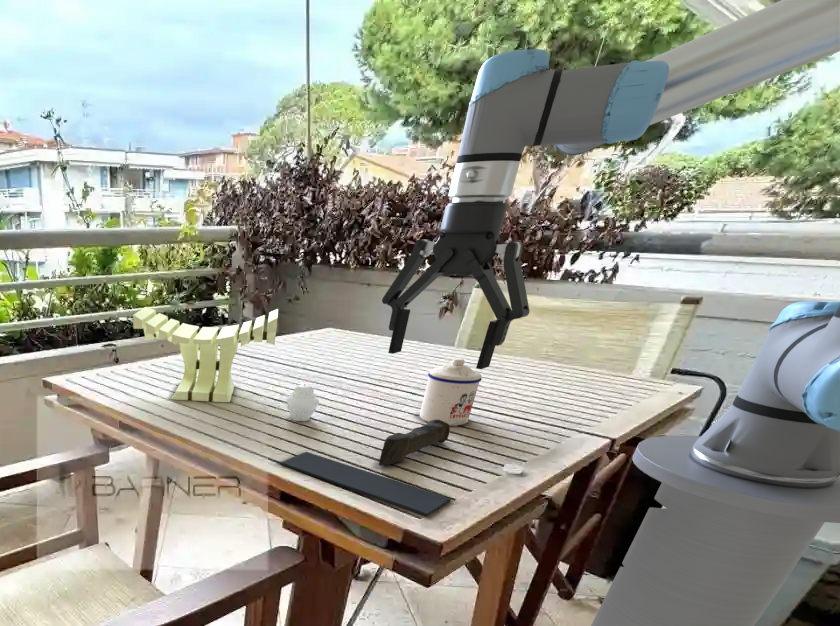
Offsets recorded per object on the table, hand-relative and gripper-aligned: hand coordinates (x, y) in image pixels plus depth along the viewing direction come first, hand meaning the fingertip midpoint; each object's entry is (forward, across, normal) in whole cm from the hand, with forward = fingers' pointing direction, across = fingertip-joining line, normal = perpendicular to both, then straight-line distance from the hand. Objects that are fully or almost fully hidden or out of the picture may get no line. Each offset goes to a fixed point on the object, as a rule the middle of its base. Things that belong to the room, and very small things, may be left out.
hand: (436, 359), depth 85 cm
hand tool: (+16, 0, 0) cm, 16 cm away
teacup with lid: (+16, -5, +24) cm, 29 cm away
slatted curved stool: (+16, -51, +2) cm, 54 cm away
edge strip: (+16, 0, -17) cm, 23 cm away
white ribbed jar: (+16, -24, +2) cm, 29 cm away
